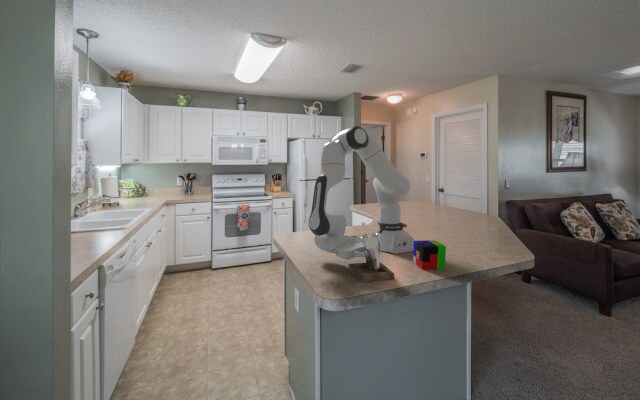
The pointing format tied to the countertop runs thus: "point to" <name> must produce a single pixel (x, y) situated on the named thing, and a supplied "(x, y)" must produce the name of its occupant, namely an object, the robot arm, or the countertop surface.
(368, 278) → the cradle jig
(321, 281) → the countertop surface
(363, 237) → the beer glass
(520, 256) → the countertop surface
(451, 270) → the countertop surface
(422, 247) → the puzzle toy
